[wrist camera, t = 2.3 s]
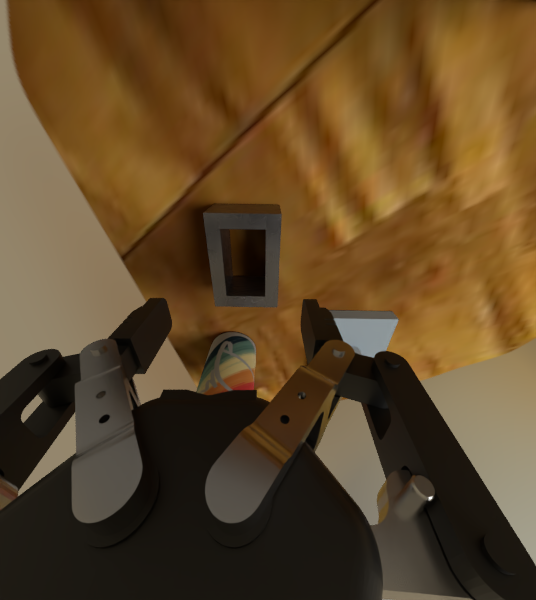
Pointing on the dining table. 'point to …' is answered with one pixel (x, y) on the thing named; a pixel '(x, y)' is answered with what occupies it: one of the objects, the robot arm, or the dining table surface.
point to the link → (219, 250)
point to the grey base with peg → (366, 329)
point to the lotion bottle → (229, 365)
